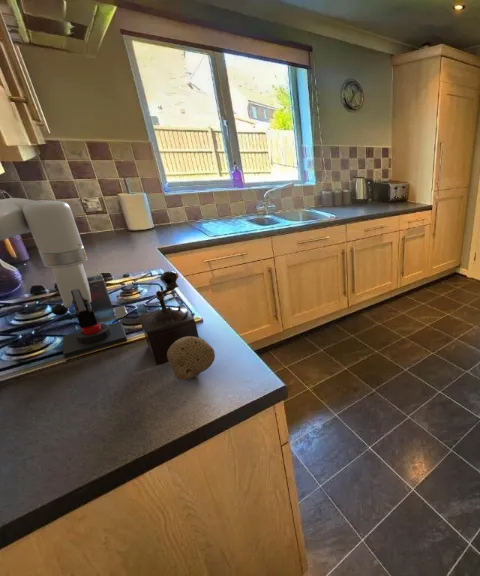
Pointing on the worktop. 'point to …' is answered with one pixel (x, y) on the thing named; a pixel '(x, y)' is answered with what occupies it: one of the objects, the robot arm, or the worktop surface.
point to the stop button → (92, 329)
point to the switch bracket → (103, 301)
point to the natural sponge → (190, 357)
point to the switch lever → (61, 307)
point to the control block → (93, 340)
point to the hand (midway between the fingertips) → (89, 324)
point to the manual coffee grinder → (167, 323)
